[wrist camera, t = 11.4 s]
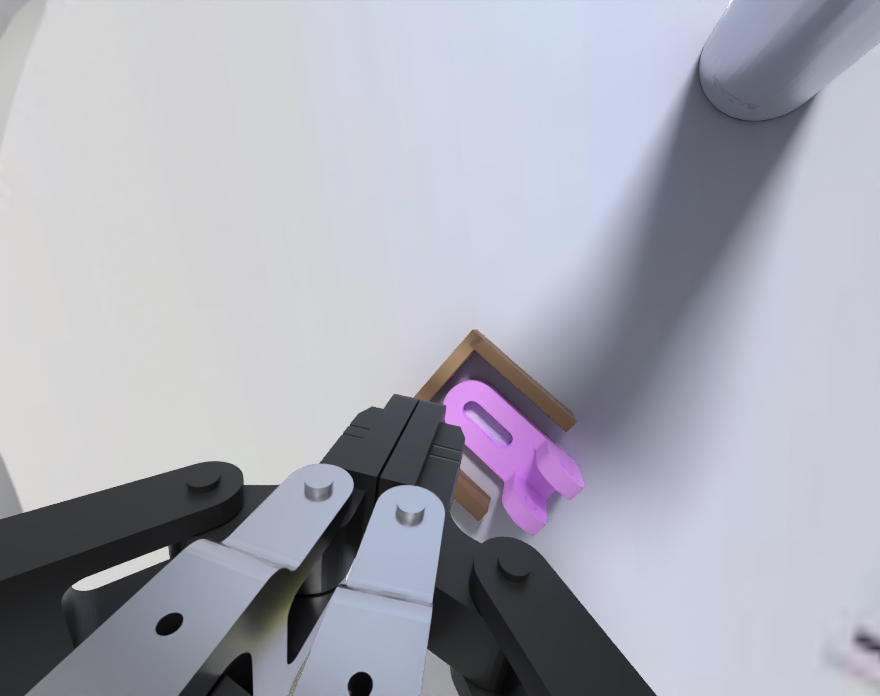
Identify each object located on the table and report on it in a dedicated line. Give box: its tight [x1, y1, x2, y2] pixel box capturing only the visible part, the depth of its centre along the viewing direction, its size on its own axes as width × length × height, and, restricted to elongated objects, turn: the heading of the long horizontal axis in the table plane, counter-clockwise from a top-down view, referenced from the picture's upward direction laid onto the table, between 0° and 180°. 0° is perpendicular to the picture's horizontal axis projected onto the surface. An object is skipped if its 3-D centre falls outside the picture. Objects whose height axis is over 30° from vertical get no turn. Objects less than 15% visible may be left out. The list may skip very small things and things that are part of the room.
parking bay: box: [414, 330, 576, 521], centre depth 37 cm, size 12×12×3 cm
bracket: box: [443, 379, 585, 535], centre depth 35 cm, size 13×6×7 cm, turn 48°
